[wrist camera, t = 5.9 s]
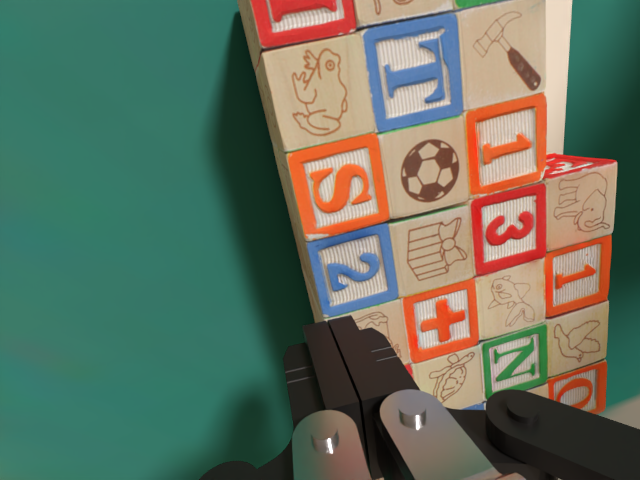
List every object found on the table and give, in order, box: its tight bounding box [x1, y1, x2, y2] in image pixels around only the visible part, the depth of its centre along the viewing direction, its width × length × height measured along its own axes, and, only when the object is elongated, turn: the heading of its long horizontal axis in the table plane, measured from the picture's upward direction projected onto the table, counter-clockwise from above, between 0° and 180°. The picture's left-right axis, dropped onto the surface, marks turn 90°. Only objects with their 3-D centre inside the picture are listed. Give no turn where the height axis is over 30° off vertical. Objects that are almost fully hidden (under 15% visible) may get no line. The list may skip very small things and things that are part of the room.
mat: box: [544, 0, 572, 155], centre depth 21 cm, size 14×24×1 cm, turn 8°
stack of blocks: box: [237, 0, 617, 480], centre depth 17 cm, size 21×6×12 cm
